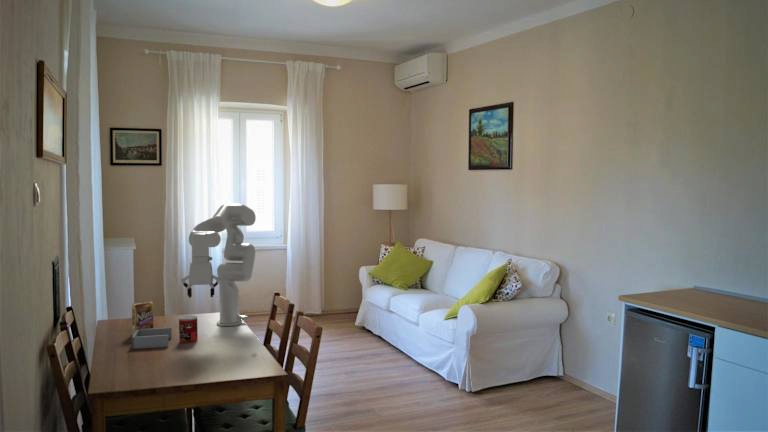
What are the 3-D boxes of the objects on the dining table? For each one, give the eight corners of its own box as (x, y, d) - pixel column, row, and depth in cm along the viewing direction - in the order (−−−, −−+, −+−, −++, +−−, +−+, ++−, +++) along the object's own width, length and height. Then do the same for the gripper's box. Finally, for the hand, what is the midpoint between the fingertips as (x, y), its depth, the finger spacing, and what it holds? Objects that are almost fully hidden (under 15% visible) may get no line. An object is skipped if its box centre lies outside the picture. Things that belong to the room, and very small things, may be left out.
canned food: (175, 342, 267) (175, 318, 267) (189, 338, 274) (188, 314, 274) (188, 344, 264) (187, 319, 263) (201, 340, 271) (200, 316, 270)
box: (171, 338, 274) (171, 327, 274) (168, 346, 260) (168, 335, 260) (137, 340, 271) (137, 329, 270) (131, 348, 256) (131, 337, 256)
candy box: (135, 337, 276) (134, 304, 276) (131, 335, 279) (131, 303, 279) (154, 333, 282) (153, 302, 282) (150, 332, 286) (149, 300, 285)
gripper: (221, 258, 273) (221, 295, 274) (182, 259, 271) (183, 295, 272) (218, 260, 266) (219, 298, 267) (179, 261, 264) (179, 299, 265)
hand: (201, 296), depth 269 cm, fingers open, 9 cm apart
